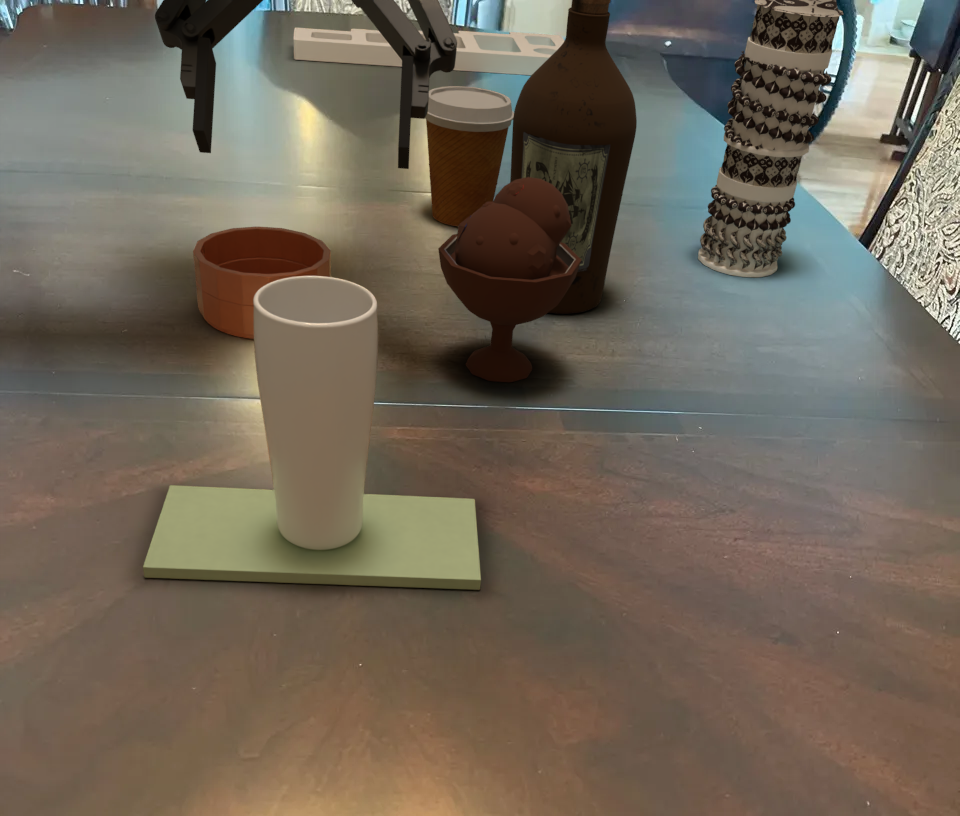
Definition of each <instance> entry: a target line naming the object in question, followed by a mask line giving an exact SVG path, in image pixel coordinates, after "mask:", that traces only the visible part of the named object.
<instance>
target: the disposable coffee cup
mask: <svg viewBox="0 0 960 816" xmlns="http://www.w3.org/2000/svg"><path fill="white" fill-rule="evenodd" d="M512 106H513V105H512V100H511V98H510V97H508V96H507V95H506V94H504V93H501V92H498V91H495V90H492V89H491V90H490V89H487V88H480V87H474V86H463V85H462V86H461V85H457V86H456V85H454V86H453V85H450V86H449V85H447V86H439V87H435V88H432V89H429V100H428V113H427V115H426V117H425V119H424V120H425V123H426V125H425V126H426V137H427V138H426V139H427V153H428V169H429V181H430V182H429V184H430V197H431V198H430V199H431V216H432V217H433V219H434V220H436V221H438V222H440V223H442V224H444V225H448V226H452V227H458V225H459V224H460V223H461V222H463V221H464V220H465V219H466V218H468V217H469V216H470V215H472V214H473V213H474V212H476V211H477V210H478V209H480V208H481V207H482V206H483V204H485V203H486V202H493V201H494V199H495V197H496V190H497V187H498V181H499V176H500V171H501V166H502V161H503V156H504V152H505V147H506V142H507V136H508V132H509V129H510V127H511V125H512V122H513V116H514V110H513V107H512Z"/></svg>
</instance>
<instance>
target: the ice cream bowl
mask: <svg viewBox="0 0 960 816" xmlns="http://www.w3.org/2000/svg"><path fill="white" fill-rule="evenodd" d="M571 226H572V225H571V220H570V214H569V209H568V204H567V203H566V201H565V199H564V197H563V195H562V193H561V192H560V191H559V190H558V189H557V188H556V187H554V186H553V185H552V184H550V183H548V182H546V181H544V180H542V179H539V178H532V177H526V178H521V179H516V180H514V181H512V182H511V183H510V182H509V183H507V184H506V185H504V186H503V187H502V188H501V189H500V190H499V191H498V193H497V194H495V196H494V200H493V202H486V203H485V204H483V206H482V207H481V208H480V209H478V210H477V211H476V212H474V213H473V214H472V215H470V216H469V217H468V218H466V219H465V220H464V221H463V222H461V223H460V224H459V225H458V226H457V233H454V234H451V236H449V237H448V238H447V239H446V241H444V242H443V243H442V244H441V245H440V246H439V247H438V249H437V250H438V256H439V264H440V269H441V271H442V272H441V273H442V275H443V277H444V280H445V281H446V284H447V285H448V287H449V288H450V289H451V291H452V292H453V293H454V294H455V296H456V297H457V299H458V300H459V301H460V302H461V303H462V305H463V306H464V307H465V308H466V309H467V311H469V312H470V313H471V314H473V315H475V316H476V317H477V318H479V319H481V320H484V321H487V322H489V323H490V326H491V338H490V344H489V345H487V346H484V347H481V348H479V349H475V350H473V352H472V353H471V354H470V356H468V358H467V360H466V363H465V366H466V368H467V369H468V370H469V372H470V373H471V375H473V376H475V377H478V378H480V379H483V380H486V381H488V382H496V383H497V382H499V383H513V382H517V381H520V380H525V379H527V378H528V377H529V375H530V374H531V372H532V370H533V366H532V362H531V361H530V360H529V359H528V357H527V356H526V355H525V354H524V353H523V352H521V351H519V350H517V349H515V348H514V347H513V337H514V336H513V335H514V330H515V328H516V326H517V325H522V324H527V323H531V322H532V321H535V320H538V319H540V318H542V317H545V316H546V315H547V314H548V312H550V311H551V310H552V309H553V308H555V307H556V306H557V305H558V304H559V302H560V301H561V299H562V298H563V296H564V295H565V293H566V292H567V290H568V289H569V287H570V286H571V284H572V282H573V281H574V279H575V277H576V274H577V271H578V268H579V266H580V263H581V259H580V258H579V257H578V256H577V255H576V254H575V253H574V252H573V251H572V250H571V249H570V248H569V247H568V246H567V245H566V244H565V243H562V242H561V241H562V240H563V238H564V237H565V235H566V234H567V232H568V230H569V229H570V227H571Z"/></svg>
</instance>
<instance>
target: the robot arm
mask: <svg viewBox="0 0 960 816" xmlns="http://www.w3.org/2000/svg"><path fill="white" fill-rule="evenodd" d="M263 1H264V0H162V1H161V3H160V4H159V6H158V8H157V10H156V11H155V14H154V20H155V22H156V27H157V30H158V32H159V35H160V38H161V41H162V44H163V45H164V46H165V47H166V48H169V49H174V48H178V49H180V50H181V57H180V71H179V80H180V84H181V86H182V87H181V88H182V89H183V93H184V95H185V98H186V100H194V101H193V117H192V133H193V137H194V139H195V143H196V145H197V148H198V151H199V153H203V154H211V153H212V141H213V122H214V106H215V89H216V74H217V73H216V72H217V61H216V57H215V53H214V50H213V49H214V48H215V47H216V46H217V45H218V44H219V43H220V42H222V41H223V39H224V38H225V37H226V36H228V35H229V34H230V33H231V32H232V31H233V30H234V29H235V28H236V27H237V26H238V25H239V24H240V23H242V21H243V20H245V18H247V16H249V15H250V14H251V13H252V12H253V11H254V10H255V9H256V8H257V7H258V6H259V5H260V4H261V3H262V2H263ZM350 1H351V2H352V3H353V5H354V6H355V7H356V8H357V9H359V8H360V9H361V10H362V12H363V13H364V14H365V15H366V17H367V18H368V19H369V20H370V22H371V23H372V24H373V26H374V27H375V28H376V29H377V30H378V31H379V32H380V33H381V34H382V36H383V37H384V38H385V39H386V41H387V42H388V43H389V44H390V46H391V47H392V48H393V49H394V51H395V52H396V53H397V55H398V56H399V57H400V58H401V60H402V67H401V77H400V96H399V97H400V98H399V104H400V105H399V119H398V121H399V122H398V143H397V144H398V145H397V169H404V170H409V169H410V147H411V145H410V144H411V125H412V124H411V123H412V119H418V120H421V119H422V120H426V119H425V117H426V115H427V113H428V100H429V91H430V78H431V77H432V75H433V74H434V73H436V72H439V71H441V72H443V73H451V72H453V71H454V70H453V69H454V67H455V60H456V50H457V40H456V38H455V35H454V33H455V32H454V30H452V29H453V28H452V27H451V25H450V22H449V20H448V18H447V16H446V14H445V12H444V10H443V7H442V5H441V3H440V1H439V0H407V2H408V4H409V6H410V9H411V11H412V13H413V15H414V17H415V19H416V21H417V23H418V25H419V29H420V30H418V29H417V27H416V25H414V23H413V22H412V21H411V20H410V18H409V17H408V16H407V14H405V12H404V11H403V9H402V8H401V7H400V6H399V4H398V3H397V1H395V0H350ZM419 31H422V32H423V34H424V37H425V39H426V40H425V39H424V38H423V36H422V35H421V34H420V33H419Z"/></svg>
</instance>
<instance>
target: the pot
mask: <svg viewBox="0 0 960 816" xmlns="http://www.w3.org/2000/svg"><path fill="white" fill-rule="evenodd" d="M192 257H193V267H194V268H193V269H194V277H195V289H196V299H197V309H198V310H199V313H200V314H201V316H202V317H203V319H204V321H206V323H207V324H209V325H210V326H211V327H213V328H214V329H215V330H217V331H220V332H222V333H225V334H227V335H231V336H234V337H239V338H244V339H252V340H254V325H253V299H254V296H255V294H256V292H257V291H258V290H259V289H260V288H261V287H263V286H264V285H266V284H268V283H270V282H273V281H276V280H279V279H284V278H289V277H296V276H325V277H332V250H331V249H330V247H328V245H327V244H326V243H325V242H324V241H323V240H322V239H320V238H318V237H315V236H313V235H311V234H308V233H306V232H302V231H298V230H294V229H288V228H283V227H273V226H271V227H270V226H245V227H233V228H232V227H231V228H227V229H224V230H220V231H215V232H212V233H209V234H208V235H206V236H204V237H202V238H200V239H199V240H197V242H196V243H195V245H194V247H193V250H192Z"/></svg>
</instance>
